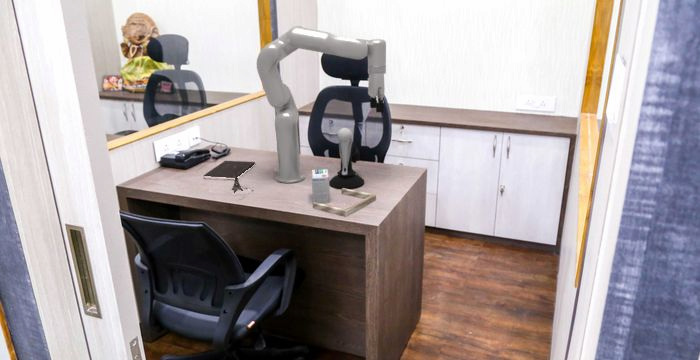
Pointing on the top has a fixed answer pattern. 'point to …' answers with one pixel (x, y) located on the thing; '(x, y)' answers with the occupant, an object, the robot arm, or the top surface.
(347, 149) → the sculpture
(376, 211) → the top surface
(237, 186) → the eiffel tower figurine
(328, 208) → the bay
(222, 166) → the hardcover book
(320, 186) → the light bulb box
